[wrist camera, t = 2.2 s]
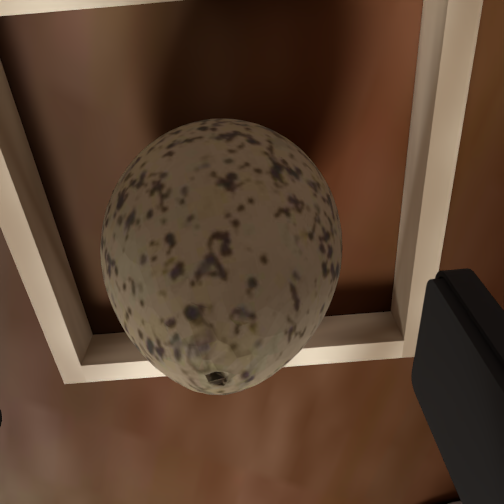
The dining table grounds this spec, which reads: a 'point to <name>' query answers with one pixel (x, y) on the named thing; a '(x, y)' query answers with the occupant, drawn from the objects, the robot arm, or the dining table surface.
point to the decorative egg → (221, 253)
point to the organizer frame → (332, 327)
